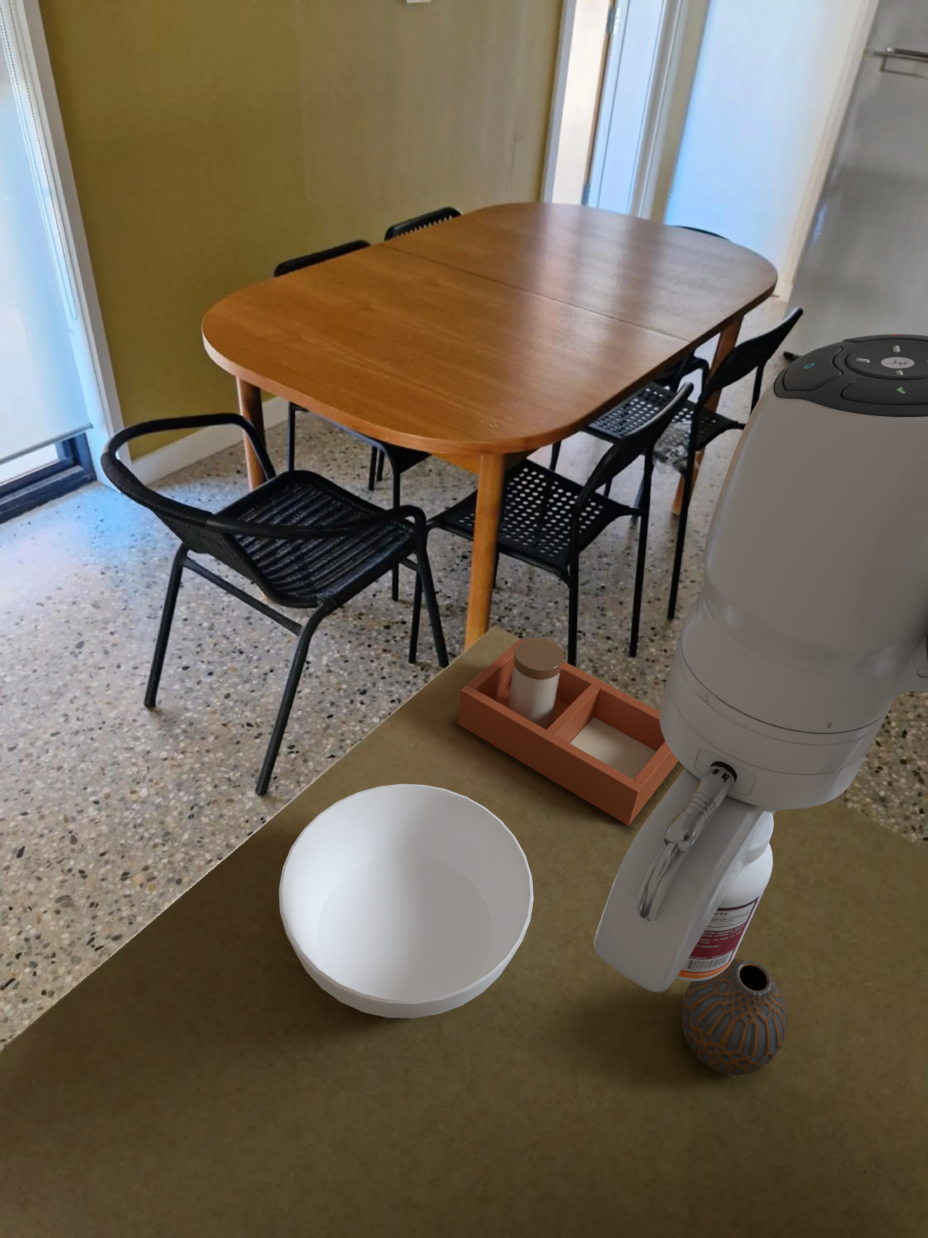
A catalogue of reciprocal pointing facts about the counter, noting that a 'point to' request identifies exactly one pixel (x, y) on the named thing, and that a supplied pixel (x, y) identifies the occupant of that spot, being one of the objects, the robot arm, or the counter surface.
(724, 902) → the pill bottle
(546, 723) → the spice jar
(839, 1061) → the counter surface
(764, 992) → the vase
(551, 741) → the divided tray
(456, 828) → the bowl
